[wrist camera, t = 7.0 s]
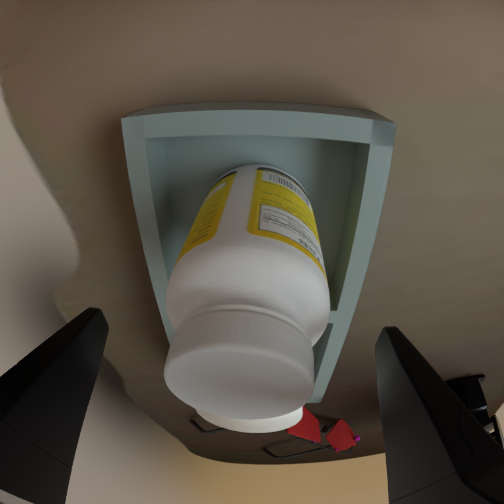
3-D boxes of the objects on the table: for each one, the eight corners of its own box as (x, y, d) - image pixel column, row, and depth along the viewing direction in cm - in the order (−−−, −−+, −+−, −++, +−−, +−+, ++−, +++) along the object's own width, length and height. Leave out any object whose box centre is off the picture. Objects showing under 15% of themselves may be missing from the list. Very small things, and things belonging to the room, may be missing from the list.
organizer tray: (318, 373, 24) (320, 402, 22) (193, 365, 25) (186, 393, 23) (374, 111, 12) (396, 123, 10) (148, 107, 13) (121, 118, 11)
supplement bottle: (216, 259, 17) (173, 423, 9) (196, 168, 14) (98, 320, 6) (313, 253, 16) (332, 426, 8) (310, 157, 13) (355, 316, 5)
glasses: (359, 420, 31) (363, 455, 27) (263, 448, 39) (261, 476, 35) (289, 384, 26) (288, 430, 22) (189, 419, 34) (182, 452, 30)
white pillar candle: (295, 366, 23) (295, 434, 18) (215, 361, 23) (202, 427, 18) (306, 310, 19) (310, 392, 14) (206, 305, 19) (186, 384, 14)
